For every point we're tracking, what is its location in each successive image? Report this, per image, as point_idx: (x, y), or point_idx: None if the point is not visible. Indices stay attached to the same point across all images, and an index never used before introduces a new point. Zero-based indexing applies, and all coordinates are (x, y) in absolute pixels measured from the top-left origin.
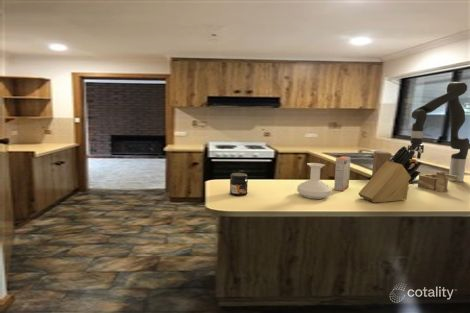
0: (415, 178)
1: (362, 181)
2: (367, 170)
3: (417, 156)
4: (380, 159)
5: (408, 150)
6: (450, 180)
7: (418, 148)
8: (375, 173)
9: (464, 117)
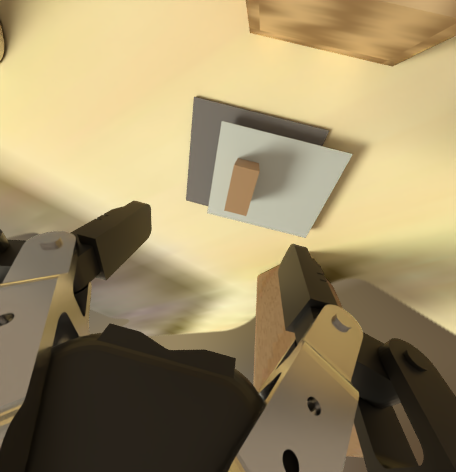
0: (247, 156)
1: (449, 296)
2: (204, 329)
3: (136, 245)
4: None
5: (389, 452)
6: (1, 31)
7: (27, 445)
8: (340, 304)
9: None
